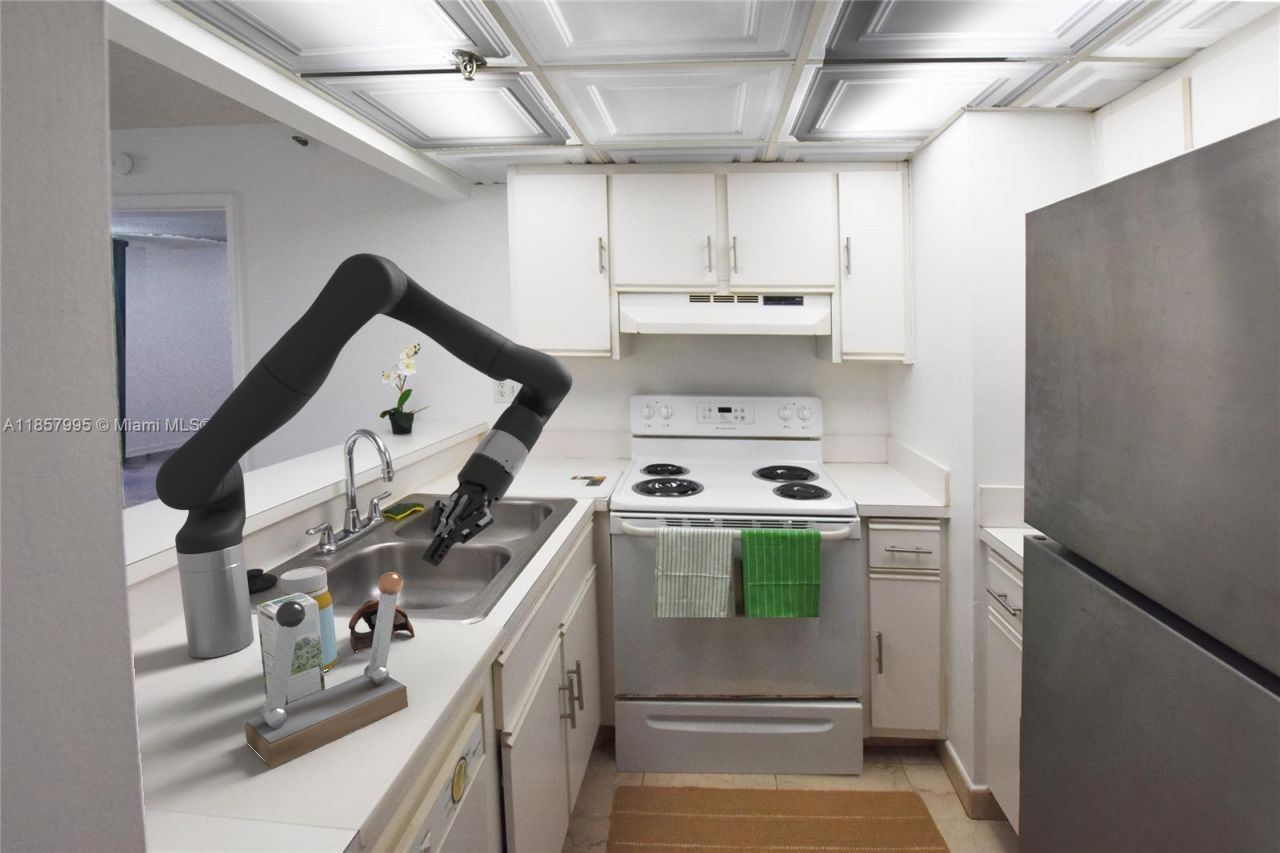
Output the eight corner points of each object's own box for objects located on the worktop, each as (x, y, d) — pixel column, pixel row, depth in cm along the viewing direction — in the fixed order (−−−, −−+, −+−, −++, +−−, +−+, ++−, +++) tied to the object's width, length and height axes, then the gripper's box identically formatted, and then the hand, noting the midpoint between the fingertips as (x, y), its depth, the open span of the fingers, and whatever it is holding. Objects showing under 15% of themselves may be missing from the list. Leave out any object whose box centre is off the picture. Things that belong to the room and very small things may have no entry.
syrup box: (308, 688, 96) (298, 590, 94) (328, 700, 92) (317, 598, 90) (265, 705, 91) (254, 603, 90) (284, 719, 87) (273, 612, 86)
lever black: (252, 721, 80) (274, 598, 81) (280, 717, 82) (301, 597, 84) (262, 731, 78) (284, 604, 79) (291, 725, 80) (311, 603, 82)
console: (246, 744, 82) (244, 721, 82) (378, 688, 95) (376, 668, 94) (272, 768, 77) (269, 744, 76) (408, 706, 89) (406, 685, 89)
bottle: (285, 683, 97) (274, 584, 96) (289, 664, 104) (279, 570, 102) (337, 672, 100) (328, 575, 98) (338, 654, 106) (329, 562, 105)
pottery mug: (428, 642, 111) (407, 611, 106) (377, 683, 106) (353, 652, 101) (397, 607, 119) (377, 576, 114) (349, 643, 114) (325, 613, 110)
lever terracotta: (358, 679, 90) (375, 570, 91) (380, 676, 92) (397, 569, 93) (369, 686, 88) (387, 574, 89) (392, 683, 90) (409, 574, 91)
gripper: (453, 448, 105) (386, 542, 98) (505, 454, 97) (437, 557, 89) (483, 475, 110) (422, 567, 102) (535, 483, 101) (473, 584, 93)
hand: (429, 563), depth 96 cm, fingers closed
